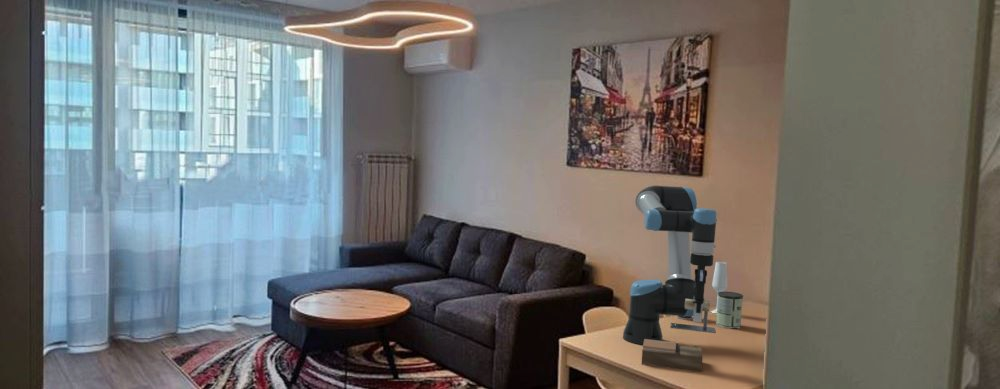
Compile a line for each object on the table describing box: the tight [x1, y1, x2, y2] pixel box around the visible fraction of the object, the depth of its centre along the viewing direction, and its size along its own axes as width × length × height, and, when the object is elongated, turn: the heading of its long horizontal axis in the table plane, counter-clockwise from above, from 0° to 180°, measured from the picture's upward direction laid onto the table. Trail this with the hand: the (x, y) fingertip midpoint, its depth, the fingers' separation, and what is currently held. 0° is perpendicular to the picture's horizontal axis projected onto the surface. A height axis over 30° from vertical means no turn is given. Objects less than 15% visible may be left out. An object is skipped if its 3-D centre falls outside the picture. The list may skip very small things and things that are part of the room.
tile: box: [642, 339, 677, 353], centre depth 237 cm, size 9×11×1 cm
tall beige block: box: [670, 299, 717, 334], centre depth 233 cm, size 15×6×10 cm, turn 76°
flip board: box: [641, 343, 703, 373], centre depth 236 cm, size 12×20×6 cm, turn 76°
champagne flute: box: [710, 261, 728, 314], centre depth 315 cm, size 7×7×24 cm
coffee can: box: [715, 291, 744, 329], centre depth 292 cm, size 10×10×14 cm
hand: (697, 320), depth 233 cm, fingers closed on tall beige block, 3 cm apart
